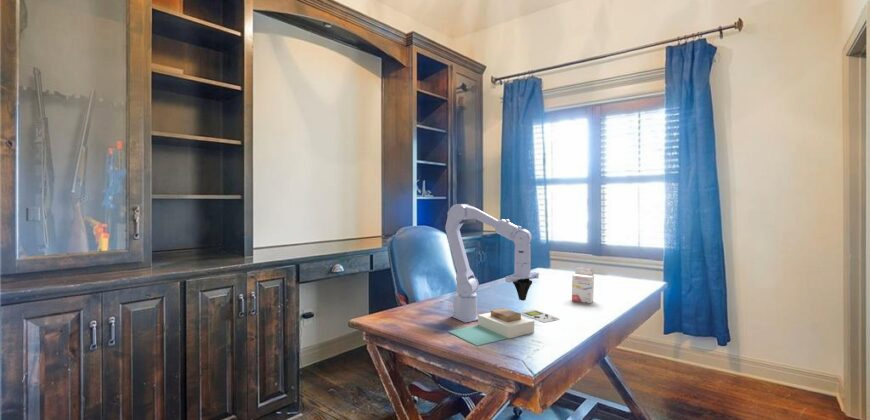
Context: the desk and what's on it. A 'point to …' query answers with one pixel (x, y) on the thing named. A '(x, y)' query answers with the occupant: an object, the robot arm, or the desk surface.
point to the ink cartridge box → (583, 285)
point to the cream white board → (506, 325)
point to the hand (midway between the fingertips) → (522, 299)
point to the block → (505, 315)
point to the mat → (477, 335)
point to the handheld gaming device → (539, 316)
